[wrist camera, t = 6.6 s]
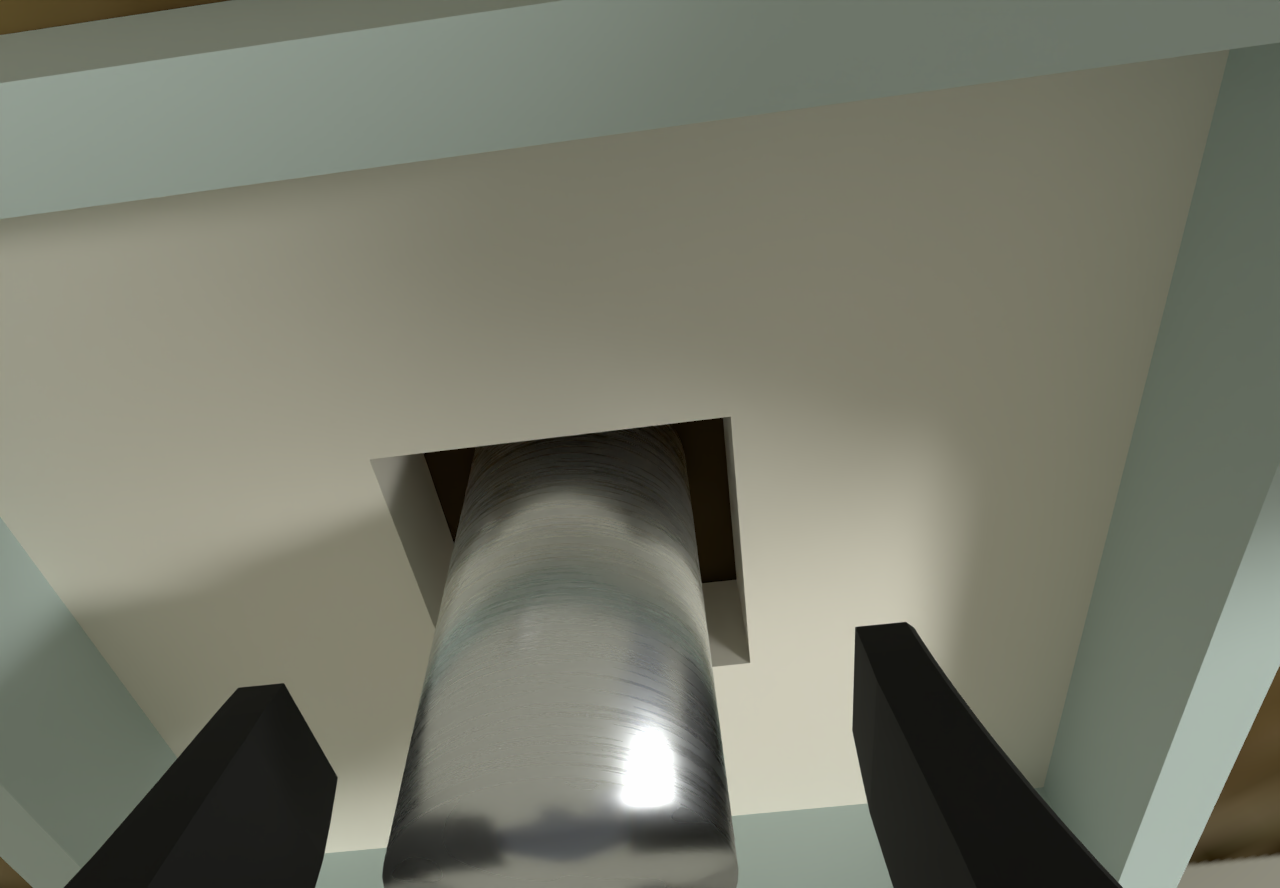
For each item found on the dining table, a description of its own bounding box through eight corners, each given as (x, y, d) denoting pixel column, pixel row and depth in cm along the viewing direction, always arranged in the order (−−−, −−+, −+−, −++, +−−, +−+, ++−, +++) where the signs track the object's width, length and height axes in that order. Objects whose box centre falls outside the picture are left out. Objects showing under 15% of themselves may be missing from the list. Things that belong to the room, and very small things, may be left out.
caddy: (1254, -155, 9) (1660, -163, 6) (1045, 727, 19) (1150, 942, 15) (-238, 71, 10) (-705, 187, 7) (258, 802, 20) (174, 1022, 16)
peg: (676, 369, 13) (730, 764, 7) (693, 540, 15) (744, 953, 10) (451, 394, 13) (333, 802, 8) (497, 560, 15) (432, 977, 10)
